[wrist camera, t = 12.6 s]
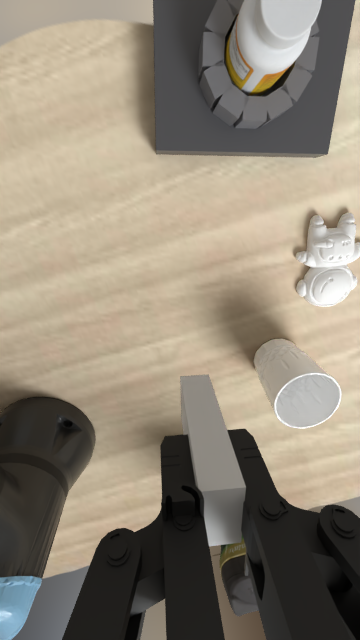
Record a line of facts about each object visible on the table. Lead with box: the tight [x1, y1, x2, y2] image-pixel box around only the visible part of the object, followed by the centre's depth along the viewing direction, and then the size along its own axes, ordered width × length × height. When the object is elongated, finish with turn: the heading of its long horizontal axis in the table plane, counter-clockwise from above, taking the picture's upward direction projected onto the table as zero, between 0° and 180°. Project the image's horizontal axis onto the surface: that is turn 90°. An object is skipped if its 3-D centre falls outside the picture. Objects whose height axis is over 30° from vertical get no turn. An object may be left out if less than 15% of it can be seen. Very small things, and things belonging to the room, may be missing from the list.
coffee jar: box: [220, 535, 259, 616], centre depth 42 cm, size 10×8×19 cm
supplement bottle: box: [224, 0, 322, 96], centre depth 22 cm, size 5×5×10 cm
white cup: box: [253, 338, 341, 428], centre depth 38 cm, size 8×8×10 cm
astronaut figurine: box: [296, 213, 360, 307], centre depth 36 cm, size 9×12×3 cm
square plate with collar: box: [153, 0, 355, 158], centre depth 27 cm, size 18×14×6 cm
